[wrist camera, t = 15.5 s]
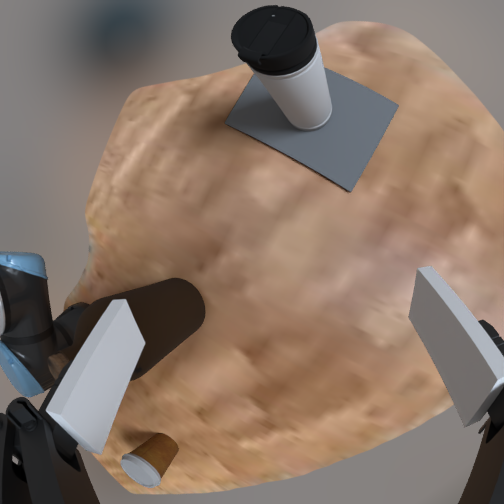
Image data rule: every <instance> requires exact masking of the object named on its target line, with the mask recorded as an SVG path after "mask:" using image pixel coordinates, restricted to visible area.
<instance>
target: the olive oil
mask: <svg viewBox="0 0 504 504" xmlns="http://www.w3.org/2000/svg"><path fill="white" fill-rule="evenodd" d="M120 299H126V301H127V303H128V305H129V308H130V310H131V312H132V315H133V317H134V319H135V322H136V324H137V326H138V328H139V330H140V333H141V335H142V337H143V339H144V341H145V345H144V348H143V350H142V352H141V355H140V357H139V359H138V362H137V364H136V366H135V369H134V371H133V373H132V376H131V378H130V381H132V380H135V379H137V378H139V377H141V376H142V375H144V374H145V373H146V372H147V371H149V370H150V369H151V368H152V367H153V366H154V365H156V364H157V363H158V362H159V361H160V360H161V359H163V358H164V357H165V356H166V355H167V354H169V353H170V352H171V351H172V350H173V349H175V348H176V347H177V346H178V345H179V344H180V343H182V342H183V341H184V340H185V339H187V338H188V337H189V336H190V335H192V334H193V333H194V332H195V331H197V330H198V329H199V328H200V326H201V325H202V323H203V321H204V318H205V305H204V301H203V299H202V296H201V295H200V293H199V291H198V290H197V289H196V288H195V287H194V286H193V285H192V284H191V283H189V282H188V281H186V280H183V279H180V278H172V279H168V280H165V281H161V282H158V283H155V284H152V285H148V286H145V287H141V288H138V289H134V290H130V291H127V292H123V293H119V294H115V295H112V296H108V297H104V298H101V299H99V300H96V301H95V302H93V303H92V304H91V305H89V306H88V307H87V308H86V309H85V310H84V311H83V312H82V314H81V315H80V317H79V320H78V322H77V326H76V330H75V335H74V340H73V344H72V346H69V347H67V348H64V349H62V350H60V351H58V352H57V353H56V355H52V356H49V357H48V366H49V369H50V372H51V374H52V375H53V377H54V378H55V380H56V379H57V378H58V375H59V374H60V372H61V370H62V369H63V367H64V366H65V365H66V364H67V363H69V362H70V361H71V360H74V359H75V357H76V356H77V354H78V352H79V351H80V349H81V348H82V346H83V344H84V343H85V341H86V340H87V338H88V336H89V335H90V333H91V332H92V330H93V329H94V327H95V326H96V324H97V323H98V321H99V319H100V318H101V316H102V315H103V313H104V312H105V310H106V309H107V307H108V306H109V305H110V303H111V302H112V300H120Z"/></svg>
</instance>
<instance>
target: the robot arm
mask: <svg viewBox="0 0 504 504" xmlns="http://www.w3.org/2000/svg"><path fill="white" fill-rule="evenodd" d="M47 279H48V277H47V276H46V269H45V262H44V259H43V258H42V257H41V256H40V255H38V254H35V253H25V252H0V338H1V340H0V365H1V367H2V369H3V370H4V372H5V374H6V375H7V377H8V379H9V380H10V382H11V383H12V385H13V386H14V387H15V388H16V389H17V391H18V392H19V393H21V394H22V395H23V396H25V397H33V396H35V395H38V394H40V393H44V391H46V390H47V389H49V388H51V389H50V391H49V393H48V395H47V396H46V398H45V400H44V402H43V404H42V406H41V407H40V409H39V411H38V410H37V409H36V408H35V407H34V406H33V405H32V404H31V403H30V401H29V400H28V399H26V398H24V397H19V398H16V399H15V400H13V401H12V402H11V403H10V404H9V405H8V408H7V410H6V415H5V414H3V413H0V504H100V502H99V500H98V498H97V496H96V493H95V491H94V489H93V486H92V484H91V481H90V479H89V477H88V474H87V471H86V469H85V466H84V463H83V460H82V457H81V454H80V453H79V451H78V450H77V449H76V447H77V445H78V444H80V445H81V446H82V447H83V448H84V449H85V450H86V451H90V452H93V453H97V454H100V455H101V454H102V451H103V448H104V446H105V443H106V440H107V437H108V435H109V432H110V429H111V427H112V424H113V421H114V419H115V416H116V413H117V411H118V408H119V406H120V403H121V401H122V398H123V395H124V393H125V390H126V388H127V386H128V383H129V381H130V378H131V376H132V373H133V371H134V369H135V366H136V364H137V362H138V359H139V357H140V355H141V352H142V350H143V348H144V345H145V341H144V339H143V337H142V335H141V333H140V330H139V328H138V326H137V324H136V322H135V319H134V317H133V315H132V312H131V310H130V308H129V305H128V303H127V301H126V299H120V300H112V302H111V303H110V305H109V306H108V307H107V309H106V310H105V312H104V313H103V315H102V316H101V318H100V319H99V321H98V323H97V324H96V326H95V327H94V329H93V330H92V332H91V333H90V335H89V336H88V338H87V340H86V341H85V343H84V344H83V346H82V348H81V349H80V351H79V352H78V354H77V356H76V357H75V359H74V360H71V361H70V362H69V363H67V364H66V365H65V366H64V367H63V369H62V370H61V372H60V374H59V375H58V378H57V379H56V380H55V378H54V377H53V375H52V374H51V372H50V369H49V366H48V357H49V356H52V355H56V353H57V352H58V351H60V350H62V349H64V348H67V347H69V346H72V344H73V340H74V335H75V330H76V326H77V322H78V320H79V317H80V315H81V314H82V312H83V311H84V310H85V309H86V308H87V307H88V306H89V304H87V303H82V302H81V303H77V304H74V305H71V306H70V307H68V308H67V309H66V310H65V311H64V312H63V313H62V314H61V315H60V316H59V317H57V318H56V320H54V321H53V320H52V314H51V308H50V301H49V294H48V285H47ZM409 319H410V321H411V322H412V324H413V326H414V328H415V329H416V331H417V333H418V335H419V336H420V338H421V340H422V342H423V343H424V345H425V347H426V349H427V351H428V353H429V354H430V356H431V358H432V360H433V362H434V364H435V366H436V368H437V370H438V372H439V374H440V376H441V378H442V380H443V382H444V384H445V386H446V388H447V390H448V392H449V394H450V396H451V398H452V400H453V402H454V405H455V407H456V409H457V411H458V413H459V416H460V418H461V420H462V422H463V425H464V427H467V426H469V425H471V424H473V423H476V422H478V421H480V420H481V419H482V417H483V416H484V415H485V413H486V412H488V414H489V416H490V417H489V419H488V420H487V421H486V422H485V424H484V425H483V426H482V427H481V428H480V430H479V432H478V433H479V434H480V433H481V432H482V431H483V430H484V429H485V431H484V434H483V438H482V442H481V445H480V449H479V451H478V455H477V457H476V460H475V463H474V466H473V469H472V472H471V474H470V477H469V479H468V482H467V484H466V487H465V489H464V492H463V494H462V496H461V498H460V501H459V503H458V504H504V341H503V339H502V338H501V337H499V334H498V333H497V331H496V330H495V329H494V327H493V326H492V325H490V324H489V323H487V322H486V321H484V320H480V321H477V319H476V318H475V317H474V316H473V314H472V313H471V312H470V311H469V309H468V308H467V307H466V306H465V304H464V303H463V302H462V301H461V299H460V298H459V297H458V296H457V295H456V294H455V292H454V291H453V290H452V289H451V288H450V286H449V285H448V284H447V283H446V282H445V281H444V280H443V278H442V277H441V276H440V275H439V274H438V273H437V272H436V271H435V270H434V268H433V267H432V266H428V267H421V268H417V273H416V280H415V286H414V291H413V297H412V302H411V307H410V312H409ZM12 455H13V456H14V457H16V458H17V459H18V460H19V461H18V465H17V464H15V463H14V462H13V461H12Z"/></svg>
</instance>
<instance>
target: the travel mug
mask: <svg viewBox="0 0 504 504" xmlns="http://www.w3.org/2000/svg"><path fill="white" fill-rule="evenodd" d="M231 40H232V43H233V45H234V47H235V48H236V50H237V51H238V52H239V53H238V57H239V58H240V59H241V60H242V61H243V62H246V63H247V64H248V66H249V67H250V68H251V70H252V71H253V72H254V73H255V75H256V76H257V77H258V79H259V80H260V81H261V83H262V84H263V85H264V87H265V88H266V89H267V91H268V92H269V93H270V95H271V96H272V98H273V99H274V100H275V102H276V103H277V104H278V106H279V107H280V109H281V110H282V112H283V113H284V114H285V116H286V117H287V119H288V120H289V122H290V123H291V124H292V125H293V126H294V127H296V128H298V129H300V130H303V131H315V130H318V129H321V128H322V127H324V126H325V125H326V124H327V123H328V122H329V120H330V119H331V116H332V104H331V98H330V93H329V88H328V83H327V79H326V74H325V70H324V65H323V61H322V57H321V53H320V49H319V45H318V41H317V38H316V35H315V32H314V29H313V25H312V23H311V20H310V18H309V17H308V16H307V15H306V14H305V13H303V12H301V11H299V10H297V9H294V8H290V7H284V6H281V7H278V6H277V5H273V6H272V5H271V6H264V7H260V8H257V9H254V10H252V11H250V12H248V13H247V14H245V15H244V16H242V17H241V18H240V19H239V20H238V21H237V22H236V24H235V25H234V27H233V30H232V33H231Z"/></svg>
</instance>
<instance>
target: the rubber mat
mask: <svg viewBox="0 0 504 504" xmlns="http://www.w3.org/2000/svg"><path fill="white" fill-rule="evenodd" d="M324 70H325V74H326V79H327V83H328V88H329V93H330V98H331V104H332V116H331V119H330V120H329V122H328V123H327V124H326V125H325V126H324V127H322V128H321V129H318V130H315V131H303V130H300V129H298V128H296V127H294V126H293V125H292V124H291V123H290V122H289V120H288V119H287V117H286V116H285V114H284V113H283V112H282V110H281V109H280V107H279V106H278V104H277V103H276V102H275V100H274V99H273V98H272V96H271V95H270V93H269V92H268V91H267V89H266V88H265V87H264V85H263V84H262V83H261V81H260V80H259V79H258V77H257V76H256V75H255V74H254V75H253V77H252V78H251V80H250V81H249V83H248V85H247V86H246V88H245V89H244V91H243V93H242V94H241V96H240V98H239V99H238V101H237V103H236V104H235V106H234V108H233V109H232V111H231V113H230V114H229V116H228V118H227V120H226V121H225V124H227V125H229V126H231V127H233V128H235V129H237V130H239V131H241V132H243V133H245V134H247V135H249V136H251V137H253V138H255V139H257V140H259V141H261V142H263V143H265V144H267V145H269V146H271V147H273V148H275V149H277V150H279V151H281V152H282V153H284V154H286V155H288V156H290V157H292V158H293V159H295V160H297V161H299V162H301V163H302V164H304V165H306V166H308V167H309V168H311V169H313V170H315V171H316V172H318V173H320V174H322V175H323V176H325V177H327V178H328V179H330V180H332V181H333V182H335V183H337V184H338V185H340V186H342V187H343V188H345V189H346V190H348V191H350V192H351V191H352V190H353V188H354V186H355V185H356V183H357V181H358V179H359V178H360V176H361V174H362V172H363V171H364V169H365V167H366V165H367V164H368V162H369V160H370V158H371V157H372V155H373V153H374V151H375V149H376V148H377V146H378V144H379V142H380V140H381V138H382V137H383V135H384V133H385V131H386V129H387V127H388V125H389V124H390V122H391V120H392V118H393V116H394V114H395V112H396V110H397V108H398V106H399V105H398V104H396V103H394V102H393V101H391V100H389V99H387V98H386V97H384V96H382V95H380V94H378V93H376V92H375V91H373V90H371V89H369V88H367V87H365V86H363V85H361V84H359V83H357V82H355V81H353V80H351V79H349V78H347V77H345V76H343V75H340V74H338V73H336V72H334V71H331V70H329V69H327V68H325V67H324Z"/></svg>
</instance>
